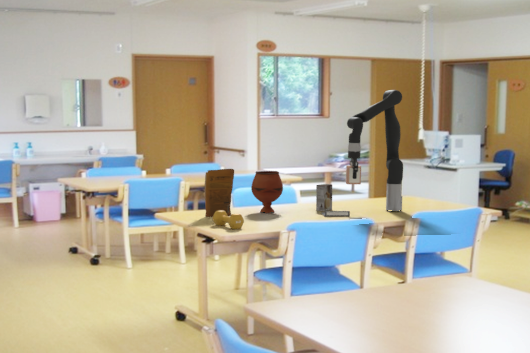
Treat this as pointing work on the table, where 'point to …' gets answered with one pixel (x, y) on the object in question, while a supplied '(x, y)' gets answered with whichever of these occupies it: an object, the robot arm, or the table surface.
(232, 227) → the dumbbell
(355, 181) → the shelf carton
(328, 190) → the coffee box
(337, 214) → the shelf board
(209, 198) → the pancake mix bag
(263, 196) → the goblet
